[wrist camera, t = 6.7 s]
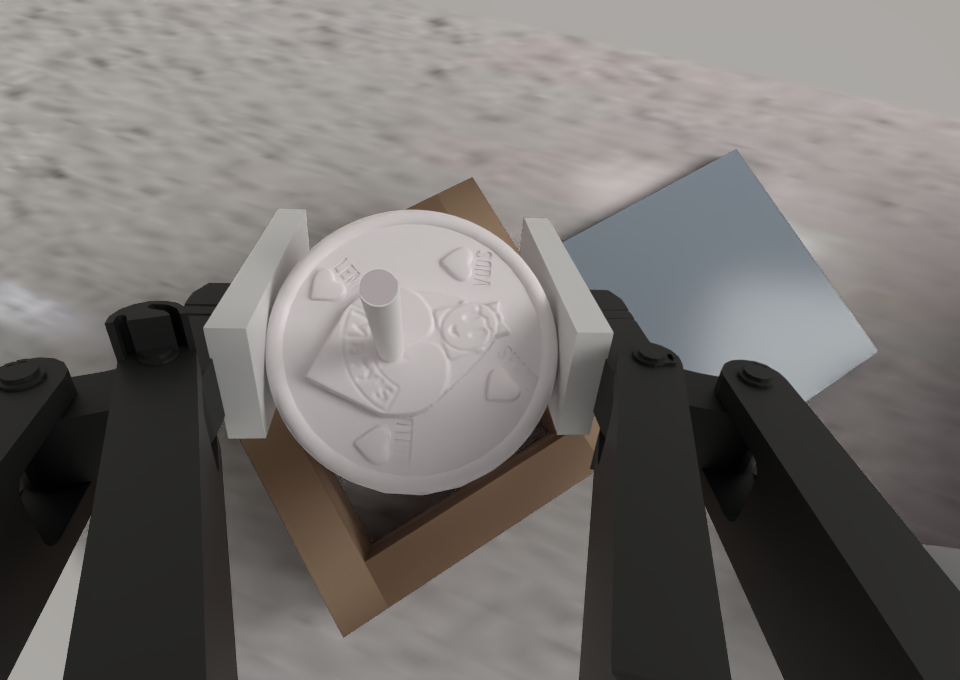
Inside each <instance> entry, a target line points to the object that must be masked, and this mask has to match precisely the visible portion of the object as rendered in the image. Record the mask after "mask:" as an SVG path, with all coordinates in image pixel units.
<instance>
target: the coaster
mask: <svg viewBox="0 0 960 680" xmlns="http://www.w3.org/2000/svg"><path fill="white" fill-rule="evenodd" d="M562 243H563V245H564V247H565V248H566V250H567V252H568V254H569V255H570V257H571V259H572V261H573V262H574V264H575V266H576V268H577V269H578V271H579V273H580V275H581V276H582V278H583V280H584V282H585V283H586V285H587V287H588V289H589V290H609V291H610V292H612V293H613V294H615V295H616V296H618V297H619V298H621V299H622V300H623V302H624V303H625V305H626V307H627V308H628V310H629V312H630V313H631V314H632V316H633V317H634V321H636V322H637V323H638V325H639V326H640V328H641V329H642V331H643V332H644V334H645V335H646V337H647V338H648V340H649V341H650V342H651V343H654V344H658V345H662V346H664V347H666V348H668V349H670V350H672V351H673V352H674V353H675V354H676V355H677V356H679V358H680V360H681V362H682V364H683V369H685V370H689V371H693V372H698V373H703V374H708V375H713V376H718V377H719V375H720V372H721V369H722V367H723V365H724V363H727V362H729V361H731V360H748V361H756V362H759V363H760V364H761V363H763V364H765V365H768V366H769V367H770V368H772V369H774V370H776V371H778V372H779V373H780V374H781V375H782V376H784V377H785V378H786V379H787V380H788V381H789V383H790V384H791V385H792V386H793V388H794V389H795V390H796V391H797V392H798V394H799V395H800V396H801V397H802V399H803V400H804V401H805V402H807V401H808V400H810V399H811V398H812V397H814V396H815V395H817V394H818V393H820V392H821V391H822V390H824V389H825V388H827V387H828V386H830V385H831V384H832V383H834V382H835V381H837V380H838V379H840V378H841V377H842V376H844V375H845V374H847V373H848V372H850V371H851V370H852V369H854V368H855V367H857V366H858V365H860V364H861V363H862V362H864V361H865V360H867V359H868V358H870V357H871V356H872V355H874V354H875V353H877V352H878V350H877V348H876V347H875V346H874V344H873V343H872V341H871V340H870V338H869V337H868V336H867V334H866V333H865V331H864V330H863V328H862V327H861V326H860V324H859V323H858V321H857V320H856V319H855V317H854V316H853V314H852V313H851V311H850V310H849V309H848V307H847V306H846V304H845V303H844V301H843V300H842V299H841V297H840V296H839V294H838V293H837V291H836V290H835V289H834V287H833V286H832V284H831V283H830V281H829V280H828V279H827V277H826V276H825V274H824V273H823V272H822V270H821V269H820V267H819V266H818V264H817V263H816V262H815V260H814V259H813V257H812V256H811V254H810V253H809V252H808V250H807V249H806V247H805V246H804V244H803V243H802V242H801V240H800V239H799V237H798V236H797V235H796V233H795V232H794V230H793V229H792V227H791V226H790V225H789V223H788V222H787V220H786V219H785V217H784V216H783V215H782V213H781V212H780V210H779V209H778V207H777V206H776V205H775V203H774V202H773V200H772V199H771V198H770V196H769V195H768V193H767V192H766V190H765V189H764V188H763V186H762V185H761V183H760V182H759V180H758V179H757V178H756V176H755V175H754V173H753V172H752V170H751V169H750V168H749V166H748V165H747V163H746V162H745V160H744V159H743V158H742V156H741V155H740V153H739V152H738V151H737V149H735V150H733V151H732V152H730V153H728V154H726V155H724V156H722V157H720V158H719V159H717V160H715V161H713V162H711V163H709V164H707V165H706V166H704V167H702V168H700V169H698V170H696V171H694V172H693V173H691V174H689V175H687V176H685V177H683V178H681V179H679V180H678V181H676V182H674V183H672V184H670V185H668V186H666V187H665V188H663V189H661V190H659V191H657V192H655V193H653V194H652V195H650V196H648V197H646V198H644V199H642V200H640V201H639V202H637V203H635V204H633V205H631V206H629V207H627V208H626V209H624V210H622V211H620V212H618V213H616V214H614V215H613V216H611V217H609V218H607V219H605V220H603V221H601V222H599V223H598V224H596V225H594V226H592V227H590V228H588V229H586V230H585V231H583V232H581V233H579V234H577V235H575V236H573V237H572V238H570V239H568V240H566V241H564V242H562Z"/></svg>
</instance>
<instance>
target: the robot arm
mask: <svg viewBox="0 0 960 680" xmlns="http://www.w3.org/2000/svg"><path fill="white" fill-rule="evenodd" d="M309 250H310V247H309V237H308V227H307V217H306V210H305V209H278V210H277V211H276V213H275V215H274V216H273V218H272V219H271V221H270V223H269V224H268V226H267V227H266V229H265V230H264V232H263V234H262V235H261V237H260V238H259V240H258V242H257V243H256V245H255V246H254V248H253V250H252V251H251V253H250V254H249V256H248V257H247V259H246V261H245V262H244V264H243V265H242V267H241V269H240V270H239V272H238V273H237V275H236V276H235V278H234V280H233V281H232V283H208V284H207V285H205V286H203V287H202V288H200V289H198V290H197V291H195V292H193V293H192V295H191V296H190V297H189V299H188V300H187V301H186V303H185V306H182V305H180V304H178V303H175V302H168V301H148V302H143V303H138V304H133V305H131V306H128V307H125V308H123V309H120V310H118V311H117V312H115V313H114V314H112V315H111V316H109V318H108V319H107V321H106V322H105V326H106V329H107V332H108V335H109V338H110V341H111V344H112V347H113V350H114V353H115V356H116V359H117V368H116V369H114V370H109V371H105V372H100V373H94V374H88V375H82V376H76V377H71V376H70V373H69V371H68V368H67V367H66V365H65V363H64V362H62V361H60V360H57V359H55V358H32V359H22V360H17V362H11V363H7V364H5V365H4V366H2V367H0V680H7V679H8V677H9V675H10V673H11V671H12V669H13V667H14V665H15V663H16V661H17V659H18V657H19V655H20V653H21V651H22V649H23V647H24V646H25V643H26V642H27V640H28V637H29V636H30V634H31V632H32V630H33V628H34V626H35V624H36V622H37V620H38V618H39V616H40V614H41V612H42V610H43V608H44V606H45V604H46V602H47V600H48V598H49V596H50V594H51V593H52V591H53V589H54V587H55V585H56V583H57V581H58V579H59V577H60V575H61V573H62V571H63V569H64V567H65V565H66V563H67V561H68V559H69V557H70V555H71V553H72V551H73V549H74V547H75V545H76V543H77V541H78V539H79V538H80V536H81V534H82V532H83V530H84V528H85V526H86V524H87V522H88V520H89V518H90V516H91V519H90V525H89V531H88V536H87V542H86V548H85V554H84V560H83V566H82V571H81V577H80V583H79V589H78V595H77V600H76V607H75V612H74V618H73V624H72V630H71V635H70V642H69V647H68V653H67V659H66V665H65V671H64V676H63V680H238V676H237V663H236V649H235V636H234V622H233V609H232V595H231V581H230V568H229V554H228V541H227V527H226V514H225V500H224V487H223V473H222V460H221V449H220V445H219V441H218V436H217V433H218V430H219V428H220V426H221V424H222V422H223V419H224V422H225V426H226V431H227V435H228V439H244V438H266V436H267V433H268V430H269V427H270V424H271V421H272V418H273V415H274V412H275V409H276V405H275V403H274V400H273V396H272V393H271V390H270V387H269V382H268V378H267V371H266V362H265V345H266V332H267V327H268V322H269V317H270V314H271V311H272V308H273V305H274V302H275V300H276V297H277V295H278V293H279V290H280V289H281V287H282V285H283V283H284V282H285V280H286V278H287V277H288V275H289V274H290V272H291V271H292V269H293V268H294V267H295V265H296V264H297V263H298V262H299V261H300V259H301V258H302V257H303V256H304V255H305V254H306V253H307V252H308V251H309ZM519 256H520V257H521V258H522V259H523V260H524V261H525V263H526V264H527V265H528V266H529V267H530V269H531V270H532V272H533V273H534V275H535V276H536V278H537V279H538V281H539V283H540V285H541V286H542V288H543V290H544V292H545V295H546V297H547V299H548V302H549V304H550V307H551V310H552V313H553V317H554V322H555V326H556V332H557V341H558V361H557V371H556V377H555V383H554V386H553V390H552V393H551V397H550V399H549V402H548V407H549V410H550V414H551V417H552V420H553V423H554V426H555V430H556V433H557V435H590V431H591V426H592V422H593V418H594V415H595V417H596V420H597V422H598V424H599V427H600V430H599V434H598V438H597V442H596V446H595V450H594V454H593V458H592V462H591V466H590V469H591V470H594V478H593V492H592V506H591V520H590V534H589V547H588V561H587V575H586V589H585V603H584V617H583V631H582V645H581V658H580V672H579V680H731V674H730V668H729V661H728V655H727V648H726V642H725V635H724V629H723V622H722V616H721V610H720V603H719V597H718V590H717V584H716V577H715V571H714V564H713V558H712V551H711V545H710V538H709V532H708V525H707V519H706V512H705V507H706V509H707V511H708V513H709V515H710V518H711V520H712V522H713V524H714V526H715V529H716V531H717V533H718V535H719V537H720V540H721V542H722V544H723V546H724V548H725V551H726V553H727V555H728V557H729V559H730V562H731V564H732V566H733V568H734V570H735V572H736V575H737V577H738V579H739V581H740V583H741V586H742V588H743V590H744V592H745V594H746V597H747V599H748V601H749V603H750V605H751V608H752V610H753V612H754V614H755V616H756V619H757V621H758V623H759V625H760V627H761V630H762V632H763V634H764V636H765V638H766V641H767V643H768V645H769V647H770V649H771V651H772V654H773V656H774V658H775V660H776V662H777V665H778V667H779V669H780V671H781V673H782V676H783V678H784V680H960V591H959V590H958V588H957V587H956V586H955V585H954V583H953V582H952V581H951V580H950V579H949V577H948V576H947V575H946V574H945V572H944V571H943V570H942V569H941V568H940V566H939V565H938V564H937V563H936V561H935V560H934V559H933V558H932V557H931V555H930V554H929V553H928V552H927V550H926V549H925V548H924V547H923V546H922V544H921V543H920V542H919V541H918V539H917V538H916V537H915V536H914V534H913V533H912V532H911V531H910V530H909V528H908V527H907V526H906V525H905V523H904V522H903V521H902V520H901V519H900V517H899V516H898V515H897V514H896V512H895V511H894V510H893V509H892V508H891V506H890V505H889V504H888V503H887V501H886V500H885V499H884V498H883V497H882V495H881V494H880V493H879V492H878V490H877V489H876V488H875V487H874V486H873V484H872V483H871V482H870V481H869V479H868V478H867V477H866V476H865V474H864V473H863V472H862V471H861V470H860V468H859V467H858V466H857V465H856V463H855V462H854V461H853V460H852V459H851V457H850V456H849V455H848V454H847V452H846V451H845V450H844V449H843V448H842V446H841V445H840V444H839V443H838V441H837V440H836V439H835V438H834V437H833V435H832V434H831V433H830V432H829V430H828V429H827V428H826V427H825V426H824V424H823V423H822V422H821V421H820V419H819V418H818V417H817V416H816V415H815V413H814V412H813V411H812V410H811V408H810V407H809V406H808V405H807V403H806V402H805V401H804V400H803V399H802V397H801V396H800V395H799V394H798V392H797V391H796V390H795V389H794V388H793V386H792V385H791V384H790V383H789V381H788V380H787V379H786V378H785V377H784V376H782V375H781V374H780V373H779V372H778V371H776V370H774V369H772V368H770V367H769V366H768V365H765V364H763V363H761V364H760V363H759V362H756V361H748V360H731V361H729V362H727V363H724V365H723V367H722V369H721V372H720V375H719V377H718V376H713V375H708V374H703V373H698V372H693V371H689V370H685V369H683V364H682V362H681V360H680V358H679V356H677V355H676V354H675V353H674V352H673V351H672V350H670V349H668V348H666V347H664V346H662V345H658V344H654V343H651V342H650V341H649V340H648V338H647V337H646V335H645V334H644V332H643V331H642V329H641V328H640V326H639V325H638V323H637V322H636V321H634V317H633V316H632V314H631V313H630V312H629V310H628V308H627V307H626V305H625V303H624V302H623V300H622V299H621V298H619V297H618V296H616V295H615V294H613V293H612V292H610V291H609V290H589V289H588V287H587V285H586V283H585V282H584V280H583V278H582V276H581V275H580V273H579V271H578V269H577V268H576V266H575V264H574V262H573V261H572V259H571V257H570V255H569V254H568V252H567V250H566V248H565V247H564V245H563V243H562V241H561V240H560V238H559V236H558V234H557V232H556V231H555V229H554V227H553V225H552V224H551V222H550V220H549V219H548V218H524V221H523V229H522V237H521V246H520V254H519ZM704 504H705V506H704Z"/></svg>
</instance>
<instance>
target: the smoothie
mask: <svg viewBox="0 0 960 680" xmlns="http://www.w3.org/2000/svg"><path fill="white" fill-rule="evenodd" d="M557 361H558V341H557V332H556V326H555V322H554V317H553V313H552V310H551V307H550V304H549V302H548V299H547V297H546V295H545V292H544V290H543V288H542V286H541V285H540V283H539V281H538V279H537V278H536V276H535V275H534V273H533V272H532V270H531V269H530V267H529V266H528V265H527V264H526V263H525V261H524V260H523V259H522V258H521V257H520V256H519V255H518V254H517V253H516V252H515V251H514V250H513V249H512V248H511V247H510V246H509V245H508V244H506V243H505V242H504V241H503V240H501V239H500V238H499V237H497V236H496V235H494V234H493V233H491V232H490V231H488V230H486V229H484V228H483V227H481V226H479V225H477V224H475V223H472V222H470V221H468V220H465V219H462V218H459V217H457V216H453V215H449V214H445V213H441V212H435V211H428V210H396V211H388V212H383V213H378V214H374V215H370V216H367V217H364V218H361V219H358V220H356V221H353V222H351V223H349V224H347V225H345V226H343V227H341V228H339V229H337V230H335V231H334V232H332V233H331V234H329V235H328V236H326V237H325V238H323V239H322V240H321V241H320V242H318V243H317V244H316V245H315V246H313V247H312V248H311V249H310V250H309V251H308V252H307V253H306V254H305V255H304V256H303V257H302V258H301V259H300V261H299V262H298V263H297V264H296V265H295V267H294V268H293V269H292V271H291V272H290V274H289V275H288V277H287V278H286V280H285V282H284V283H283V285H282V287H281V289H280V290H279V293H278V295H277V297H276V300H275V302H274V305H273V308H272V311H271V314H270V317H269V322H268V327H267V332H266V345H265V362H266V371H267V378H268V382H269V387H270V390H271V393H272V396H273V400H274V403H275V405H276V407H277V409H278V411H279V414H280V416H281V418H282V419H283V421H284V423H285V424H286V426H287V428H288V429H289V431H290V432H291V433H292V435H293V436H294V438H295V439H296V440H297V442H298V443H299V444H300V445H301V446H302V447H303V448H304V449H305V450H306V451H307V452H308V453H309V454H310V455H311V456H312V457H313V458H314V459H316V460H317V461H318V462H319V463H320V464H322V465H323V466H325V467H326V468H327V469H329V470H330V471H332V472H334V473H335V474H337V475H339V476H341V477H342V478H344V479H346V480H347V481H350V482H353V483H355V484H358V485H361V486H364V487H367V488H370V489H374V490H377V491H380V492H383V493H392V494H410V495H427V494H431V493H436V492H440V491H445V490H450V489H454V488H459V487H462V486H464V485H466V484H468V483H470V482H472V481H474V480H476V479H478V478H480V477H482V476H484V475H486V474H487V473H489V472H491V471H493V470H494V469H495V468H497V467H498V466H500V465H501V464H502V463H503V462H505V461H506V460H507V459H508V458H509V457H511V456H512V455H513V454H514V453H515V452H516V451H517V450H518V449H519V448H520V447H521V446H522V445H523V443H524V442H525V441H526V440H527V438H528V437H529V436H530V435H531V433H532V432H533V430H534V429H535V427H536V426H537V424H538V423H539V421H540V419H541V417H542V415H543V413H544V411H545V409H546V407H547V404H548V402H549V399H550V397H551V393H552V390H553V386H554V383H555V377H556V371H557Z"/></svg>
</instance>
